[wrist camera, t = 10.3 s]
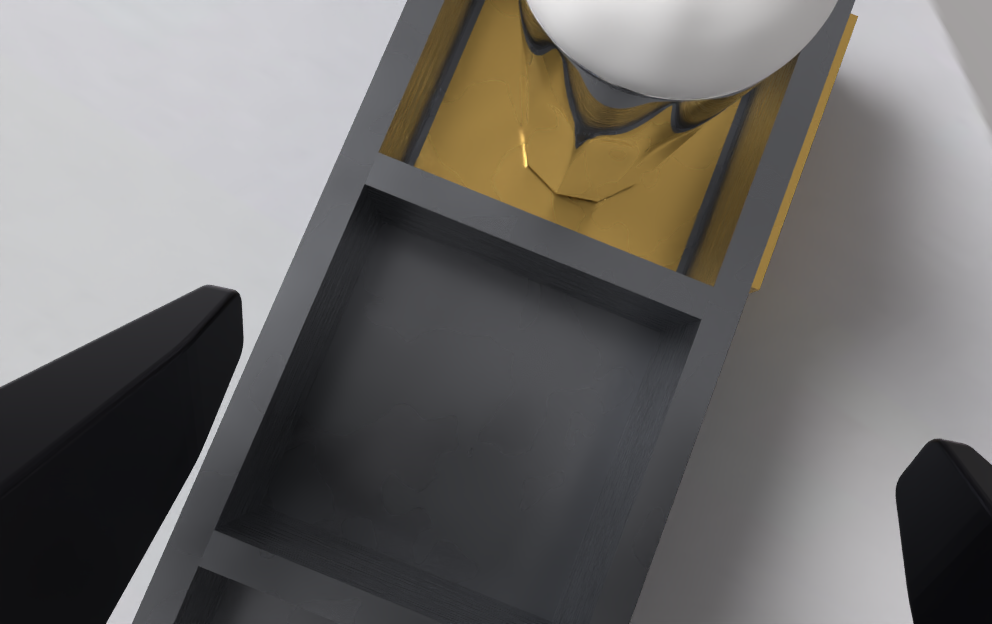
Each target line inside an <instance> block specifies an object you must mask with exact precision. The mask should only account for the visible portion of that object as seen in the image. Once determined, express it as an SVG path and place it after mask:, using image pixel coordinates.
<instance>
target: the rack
mask: <svg viewBox="0 0 992 624" xmlns="http://www.w3.org/2000/svg"><path fill="white" fill-rule="evenodd" d="M854 2H855V0H838V1H837V3H836V5H835V7H834V9H833V11H832V12H831V14H830V16H829V17H828V19H827V20H826V22H825V23H824V24H823V26H822V27H821V28H820V30H819V31H818V32H817V34H816V35H815V36H814V37H813V38H812V39H811V41H810V42H809V43H808V44H807V45H806V46H805V47H804V48H803V49H802V50H801V51H800V52H799V53H798V54H797V55H796V56H795V57H793V58H792V59H791V60H790V61H789V62H788V63H786V64H785V65H784V66H782V67H781V68H780V69H778V70H777V71H776V72H775V73H773V74H772V75H771V76H769V77H768V78H767V79H765V80H764V81H763V82H761V83H760V84H759V85H757V86H756V87H755V88H753V89H752V90H751V91H749V92H748V93H747V94H745V95H744V96H743V97H741V98H740V99H739V100H737V101H736V102H735V103H733V104H732V105H731V106H729V107H728V108H727V109H725V110H724V111H723V112H721V113H720V114H719V115H717V116H716V117H715V118H713V119H712V120H711V121H710V122H708V123H707V124H706V125H705V126H704V127H703V128H702V129H700V130H699V131H698V132H697V133H696V134H695V135H693V136H692V137H691V138H690V139H689V140H687V141H686V142H685V143H684V144H683V145H682V146H680V147H679V148H678V149H677V150H676V151H675V152H673V153H672V154H671V155H670V156H669V157H667V158H666V159H665V160H664V161H663V162H662V163H660V164H659V165H658V166H657V167H656V168H654V169H653V170H652V171H651V172H650V173H648V174H647V175H646V176H645V177H644V178H643V179H641V180H640V181H639V182H638V183H636V184H635V185H632V186H630V187H628V188H626V189H624V190H622V191H619V192H617V193H615V194H613V195H611V196H609V197H607V198H605V199H603V200H601V201H598V202H597V201H591V200H586V199H581V198H575V197H570V196H564V195H559V194H556V193H555V192H554V191H553V190H552V189H551V188H550V187H549V186H548V185H547V184H546V183H545V182H544V181H543V180H542V179H541V178H540V177H539V176H538V175H537V174H536V173H535V172H534V170H533V169H532V168H531V167H530V166H529V165H528V164H527V160H526V152H525V145H524V138H523V132H522V125H521V37H520V27H519V14H518V0H407V2H406V4H405V7H404V9H403V11H402V14H401V16H400V18H399V20H398V23H397V25H396V27H395V29H394V32H393V34H392V36H391V38H390V41H389V43H388V45H387V48H386V50H385V52H384V54H383V57H382V59H381V61H380V63H379V66H378V68H377V70H376V72H375V75H374V77H373V79H372V81H371V84H370V86H369V88H368V91H367V93H366V95H365V97H364V100H363V102H362V104H361V106H360V109H359V111H358V113H357V115H356V118H355V120H354V122H353V124H352V127H351V129H350V131H349V134H348V136H347V138H346V140H345V143H344V145H343V147H342V149H341V152H340V154H339V156H338V158H337V161H336V163H335V165H334V167H333V170H332V172H331V174H330V177H329V179H328V181H327V183H326V186H325V188H324V190H323V192H322V195H321V197H320V199H319V201H318V204H317V206H316V208H315V211H314V213H313V215H312V217H311V220H310V222H309V224H308V226H307V229H306V231H305V233H304V235H303V238H302V240H301V242H300V244H299V247H298V249H297V251H296V254H295V256H294V258H293V260H292V263H291V265H290V267H289V269H288V272H287V274H286V276H285V278H284V281H283V283H282V285H281V287H280V290H279V292H278V294H277V297H276V299H275V301H274V303H273V306H272V308H271V310H270V312H269V315H268V317H267V319H266V321H265V324H264V326H263V328H262V330H261V333H260V335H259V337H258V340H257V342H256V344H255V346H254V349H253V351H252V353H251V355H250V358H249V360H248V362H247V364H246V367H245V369H244V371H243V374H242V376H241V378H240V380H239V383H238V385H237V387H236V389H235V392H234V394H233V396H232V398H231V401H230V403H229V405H228V407H227V410H226V412H225V414H224V417H223V419H222V421H221V423H220V426H219V428H218V430H217V432H216V435H215V437H214V439H213V441H212V444H211V446H210V448H209V450H208V453H207V455H206V457H205V460H204V462H203V464H202V466H201V469H200V471H199V473H198V475H197V478H196V480H195V482H194V484H193V487H192V489H191V491H190V494H189V496H188V498H187V500H186V503H185V505H184V507H183V509H182V512H181V514H180V516H179V518H178V521H177V523H176V525H175V527H174V530H173V532H172V534H171V537H170V539H169V541H168V543H167V546H166V548H165V550H164V552H163V555H162V557H161V559H160V561H159V564H158V566H157V568H156V570H155V573H154V575H153V577H152V580H151V582H150V584H149V586H148V589H147V591H146V593H145V595H144V598H143V600H142V602H141V604H140V607H139V609H138V611H137V613H136V616H135V618H134V620H133V623H132V624H629V622H630V620H631V617H632V614H633V611H634V609H635V606H636V603H637V600H638V598H639V595H640V592H641V589H642V587H643V584H644V581H645V578H646V576H647V573H648V570H649V567H650V565H651V562H652V559H653V556H654V554H655V551H656V548H657V545H658V543H659V540H660V537H661V534H662V531H663V529H664V526H665V523H666V520H667V518H668V515H669V512H670V509H671V507H672V504H673V501H674V498H675V496H676V493H677V490H678V487H679V485H680V482H681V479H682V476H683V474H684V471H685V468H686V465H687V463H688V460H689V457H690V454H691V452H692V449H693V446H694V443H695V440H696V438H697V435H698V432H699V429H700V427H701V424H702V421H703V418H704V416H705V413H706V410H707V407H708V405H709V402H710V399H711V396H712V394H713V391H714V388H715V385H716V383H717V380H718V377H719V374H720V372H721V369H722V366H723V363H724V361H725V358H726V355H727V352H728V349H729V347H730V344H731V341H732V338H733V336H734V333H735V330H736V327H737V325H738V322H739V319H740V316H741V314H742V311H743V308H744V305H745V303H746V300H747V297H748V294H749V293H752V292H755V291H758V290H759V289H760V287H761V284H762V281H763V278H764V276H765V273H766V270H767V267H768V264H769V262H770V259H771V256H772V253H773V251H774V248H775V245H776V242H777V240H778V237H779V234H780V231H781V228H782V226H783V223H784V220H785V217H786V215H787V212H788V209H789V206H790V204H791V201H792V198H793V195H794V192H795V190H796V187H797V184H798V181H799V179H800V176H801V173H802V170H803V168H804V165H805V162H806V159H807V156H808V154H809V151H810V148H811V145H812V143H813V140H814V137H815V134H816V132H817V129H818V126H819V123H820V120H821V118H822V115H823V112H824V109H825V107H826V104H827V101H828V98H829V96H830V93H831V90H832V87H833V84H834V82H835V79H836V76H837V73H838V71H839V68H840V65H841V62H842V60H843V57H844V54H845V51H846V48H847V46H848V43H849V40H850V37H851V35H852V32H853V29H854V26H855V24H856V21H857V18H858V16H856V15H853V14H851V10H852V8H853V5H854Z"/></svg>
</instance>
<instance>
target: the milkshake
mask: <svg viewBox="0 0 992 624" xmlns="http://www.w3.org/2000/svg"><path fill="white" fill-rule="evenodd" d="M837 1H838V0H518V14H519V27H520V37H521V125H522V132H523V138H524V145H525V152H526V160H527V164H528V165H529V166H530V167H531V168H532V169H533V170H534V172H535V173H536V174H537V175H538V176H539V177H540V178H541V179H542V180H543V181H544V182H545V183H546V184H547V185H548V186H549V187H550V188H551V189H552V190H553V191H554V192H555V193H556V194H559V195H564V196H570V197H575V198H581V199H586V200H591V201H597V202H598V201H601V200H603V199H605V198H607V197H609V196H611V195H613V194H615V193H617V192H619V191H622V190H624V189H626V188H628V187H630V186H632V185H635V184H636V183H638V182H639V181H640V180H641V179H643V178H644V177H645V176H646V175H647V174H648V173H650V172H651V171H652V170H653V169H654V168H656V167H657V166H658V165H659V164H660V163H662V162H663V161H664V160H665V159H666V158H667V157H669V156H670V155H671V154H672V153H673V152H675V151H676V150H677V149H678V148H679V147H680V146H682V145H683V144H684V143H685V142H686V141H687V140H689V139H690V138H691V137H692V136H693V135H695V134H696V133H697V132H698V131H699V130H700V129H702V128H703V127H704V126H705V125H706V124H707V123H708V122H710V121H711V120H712V119H713V118H715V117H716V116H717V115H719V114H720V113H721V112H723V111H724V110H725V109H727V108H728V107H729V106H731V105H732V104H733V103H735V102H736V101H737V100H739V99H740V98H741V97H743V96H744V95H745V94H747V93H748V92H749V91H751V90H752V89H753V88H755V87H756V86H757V85H759V84H760V83H761V82H763V81H764V80H765V79H767V78H768V77H769V76H771V75H772V74H773V73H775V72H776V71H777V70H778V69H780V68H781V67H782V66H784V65H785V64H786V63H788V62H789V61H790V60H791V59H792V58H793V57H795V56H796V55H797V54H798V53H799V52H800V51H801V50H802V49H803V48H804V47H805V46H806V45H807V44H808V43H809V42H810V41H811V39H812V38H813V37H814V36H815V35H816V34H817V32H818V31H819V30H820V28H821V27H822V26H823V24H824V23H825V22H826V20H827V19H828V17H829V16H830V14H831V12H832V11H833V9H834V7H835V5H836V3H837Z"/></svg>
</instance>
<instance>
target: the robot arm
mask: <svg viewBox="0 0 992 624" xmlns="http://www.w3.org/2000/svg"><path fill="white" fill-rule="evenodd" d="M242 348H243V319H242V301H241V297H240V294H239V293H238V292H237V291H236V290H233V289H228V288H223V287H219V286H214V285H205V286H202V287H200V288H198V289H196V290H194V291H192V292H190V293H188V294H186V295H184V296H182V297H180V298H178V299H176V300H174V301H172V302H170V303H168V304H166V305H164V306H162V307H160V308H158V309H156V310H154V311H152V312H150V313H148V314H146V315H144V316H142V317H140V318H138V319H136V320H134V321H132V322H130V323H128V324H126V325H124V326H122V327H120V328H118V329H116V330H114V331H112V332H110V333H108V334H106V335H104V336H102V337H100V338H98V339H96V340H94V341H92V342H90V343H88V344H86V345H84V346H82V347H80V348H78V349H76V350H74V351H72V352H70V353H68V354H66V355H64V356H62V357H60V358H58V359H56V360H54V361H52V362H50V363H48V364H46V365H44V366H42V367H40V368H38V369H36V370H34V371H32V372H30V373H28V374H26V375H24V376H22V377H20V378H18V379H16V380H14V381H12V382H10V383H8V384H6V385H4V386H2V387H0V624H106V623H107V621H108V619H109V617H110V615H111V614H112V612H113V610H114V608H115V607H116V605H117V603H118V601H119V599H120V598H121V596H122V594H123V592H124V590H125V589H126V587H127V585H128V583H129V582H130V580H131V578H132V576H133V574H134V573H135V571H136V569H137V567H138V565H139V564H140V562H141V560H142V558H143V557H144V555H145V553H146V551H147V549H148V548H149V546H150V544H151V542H152V540H153V539H154V537H155V535H156V533H157V532H158V530H159V528H160V526H161V524H162V523H163V521H164V519H165V517H166V516H167V514H168V512H169V510H170V508H171V507H172V505H173V503H174V501H175V499H176V498H177V496H178V494H179V492H180V491H181V489H182V487H183V485H184V483H185V482H186V480H187V478H188V476H189V474H190V473H191V471H192V469H193V467H194V465H195V463H196V461H197V459H198V457H199V455H200V453H201V451H202V448H203V446H204V444H205V442H206V439H207V437H208V434H209V432H210V429H211V427H212V425H213V422H214V420H215V417H216V415H217V412H218V410H219V408H220V405H221V403H222V400H223V398H224V395H225V393H226V391H227V388H228V386H229V383H230V381H231V378H232V376H233V373H234V371H235V369H236V366H237V364H238V361H239V359H240V356H241V353H242ZM896 504H897V512H898V520H899V528H900V536H901V544H902V552H903V560H904V568H905V576H906V584H907V591H908V597H909V603H910V608H911V613H912V618H913V623H914V624H992V465H991V464H990V463H989V462H988V461H987V460H985V459H984V458H983V457H982V456H981V455H980V454H979V453H977V452H976V451H975V450H974V449H973V448H971V447H970V446H968V445H966V444H963V443H958V442H954V441H949V440H944V439H933V440H931V441H929V442H928V443H927V444H926V445H925V446H924V447H923V448H922V450H921V451H920V452H919V453H918V455H917V456H916V457H915V458H914V460H913V461H912V462H911V463H910V465H909V466H908V467H907V468H906V470H905V471H904V472H903V473H902V475H901V476H900V478H899V480H898V482H897V486H896Z"/></svg>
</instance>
